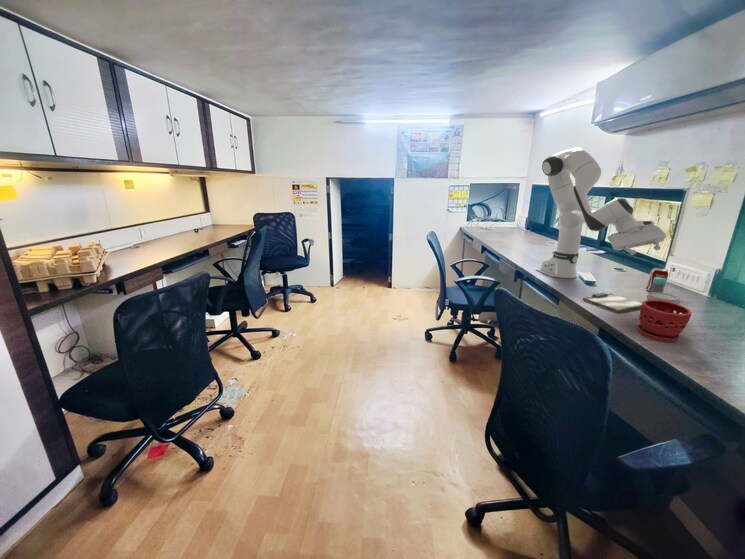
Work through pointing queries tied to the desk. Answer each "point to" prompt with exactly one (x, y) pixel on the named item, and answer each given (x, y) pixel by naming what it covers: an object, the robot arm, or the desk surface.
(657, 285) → the ball
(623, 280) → the desk surface
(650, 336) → the plant pot
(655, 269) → the soda can
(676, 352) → the desk surface
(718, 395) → the desk surface
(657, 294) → the disposable coffee cup
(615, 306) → the clipboard
